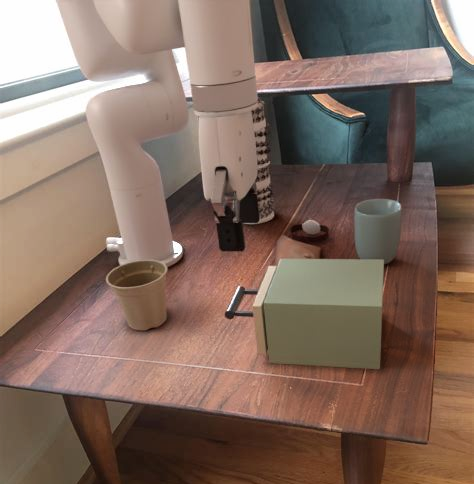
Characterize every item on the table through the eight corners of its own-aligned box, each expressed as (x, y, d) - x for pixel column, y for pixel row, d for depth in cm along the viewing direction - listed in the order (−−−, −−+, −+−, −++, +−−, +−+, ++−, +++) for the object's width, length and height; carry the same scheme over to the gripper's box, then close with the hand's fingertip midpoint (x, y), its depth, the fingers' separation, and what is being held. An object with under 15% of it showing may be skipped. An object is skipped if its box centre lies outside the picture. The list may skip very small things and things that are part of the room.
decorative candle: (284, 215, 119) (276, 94, 106) (250, 228, 115) (237, 104, 102) (260, 205, 126) (249, 90, 113) (226, 217, 122) (211, 99, 109)
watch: (331, 235, 107) (331, 218, 106) (325, 245, 104) (325, 227, 102) (294, 233, 110) (293, 216, 108) (287, 243, 107) (285, 225, 105)
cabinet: (269, 363, 74) (263, 302, 69) (284, 314, 85) (280, 258, 80) (379, 369, 71) (382, 306, 66) (381, 317, 81) (384, 259, 76)
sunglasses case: (327, 294, 87) (304, 263, 85) (291, 315, 90) (267, 285, 87) (321, 246, 102) (301, 219, 100) (290, 265, 105) (270, 239, 103)
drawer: (224, 352, 76) (217, 305, 72) (243, 309, 85) (237, 265, 81) (358, 360, 71) (358, 309, 67) (362, 313, 81) (363, 266, 77)
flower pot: (125, 307, 92) (113, 261, 87) (180, 303, 91) (171, 256, 87) (112, 339, 84) (99, 290, 79) (172, 334, 83) (162, 285, 79)
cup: (400, 270, 92) (403, 215, 87) (353, 270, 94) (353, 216, 89) (398, 250, 99) (401, 197, 93) (354, 251, 100) (354, 199, 95)
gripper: (214, 84, 71) (229, 211, 80) (169, 116, 57) (194, 265, 66) (270, 80, 69) (280, 210, 78) (238, 111, 55) (254, 266, 64)
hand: (240, 235), depth 72 cm, fingers open, 8 cm apart
